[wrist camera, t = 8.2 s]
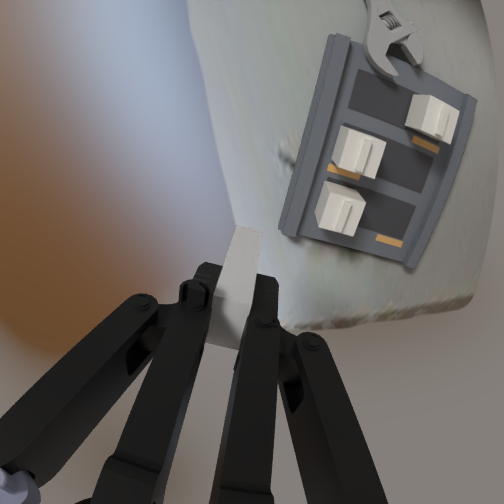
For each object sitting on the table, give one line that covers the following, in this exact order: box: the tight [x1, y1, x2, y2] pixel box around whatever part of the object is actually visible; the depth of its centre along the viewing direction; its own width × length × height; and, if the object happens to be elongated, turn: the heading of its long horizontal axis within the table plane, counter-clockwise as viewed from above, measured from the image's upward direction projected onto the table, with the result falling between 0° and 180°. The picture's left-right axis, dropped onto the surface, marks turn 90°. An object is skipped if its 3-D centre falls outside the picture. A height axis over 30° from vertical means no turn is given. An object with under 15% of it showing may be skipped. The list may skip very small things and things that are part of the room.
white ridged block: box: [315, 180, 366, 236], centre depth 28 cm, size 4×4×5 cm
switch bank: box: [278, 33, 477, 269], centre depth 28 cm, size 22×18×2 cm
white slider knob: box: [331, 125, 386, 179], centre depth 25 cm, size 4×4×5 cm
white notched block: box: [405, 94, 460, 144], centre depth 22 cm, size 4×4×5 cm
